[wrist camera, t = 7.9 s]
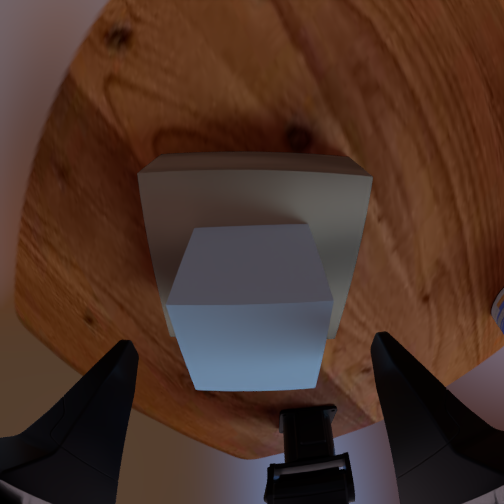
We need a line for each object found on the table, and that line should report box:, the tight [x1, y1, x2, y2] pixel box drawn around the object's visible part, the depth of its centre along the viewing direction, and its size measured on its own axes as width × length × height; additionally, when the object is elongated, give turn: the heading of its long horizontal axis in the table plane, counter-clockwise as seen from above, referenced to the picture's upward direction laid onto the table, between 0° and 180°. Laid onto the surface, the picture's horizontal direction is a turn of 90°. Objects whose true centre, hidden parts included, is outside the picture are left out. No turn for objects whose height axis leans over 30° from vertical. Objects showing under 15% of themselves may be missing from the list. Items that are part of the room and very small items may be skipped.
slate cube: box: [166, 224, 334, 391], centre depth 12 cm, size 5×5×5 cm
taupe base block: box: [137, 152, 373, 339], centre depth 15 cm, size 10×10×4 cm
